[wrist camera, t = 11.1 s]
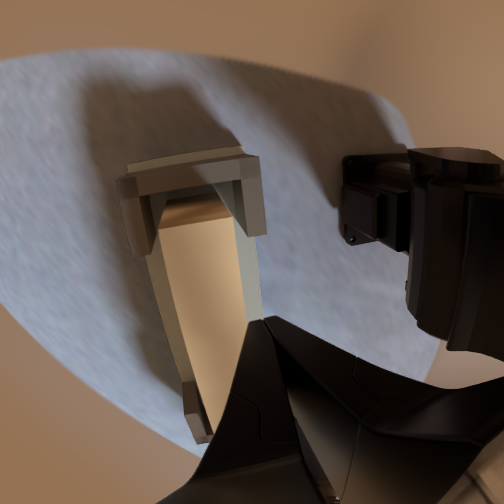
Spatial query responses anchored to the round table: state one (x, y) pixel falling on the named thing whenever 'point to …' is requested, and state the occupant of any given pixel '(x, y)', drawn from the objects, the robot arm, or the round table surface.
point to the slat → (206, 291)
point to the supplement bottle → (316, 469)
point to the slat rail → (148, 244)
